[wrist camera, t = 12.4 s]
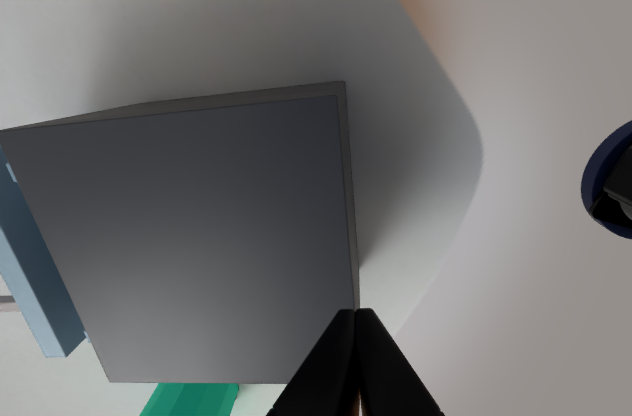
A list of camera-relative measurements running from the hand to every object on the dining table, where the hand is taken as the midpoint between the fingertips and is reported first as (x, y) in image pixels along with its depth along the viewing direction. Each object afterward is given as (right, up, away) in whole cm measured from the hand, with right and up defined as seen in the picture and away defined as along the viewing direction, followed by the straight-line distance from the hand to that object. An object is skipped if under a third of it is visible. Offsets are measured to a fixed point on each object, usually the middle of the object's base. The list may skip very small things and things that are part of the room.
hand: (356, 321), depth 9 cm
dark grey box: (-5, +4, +12) cm, 13 cm away
